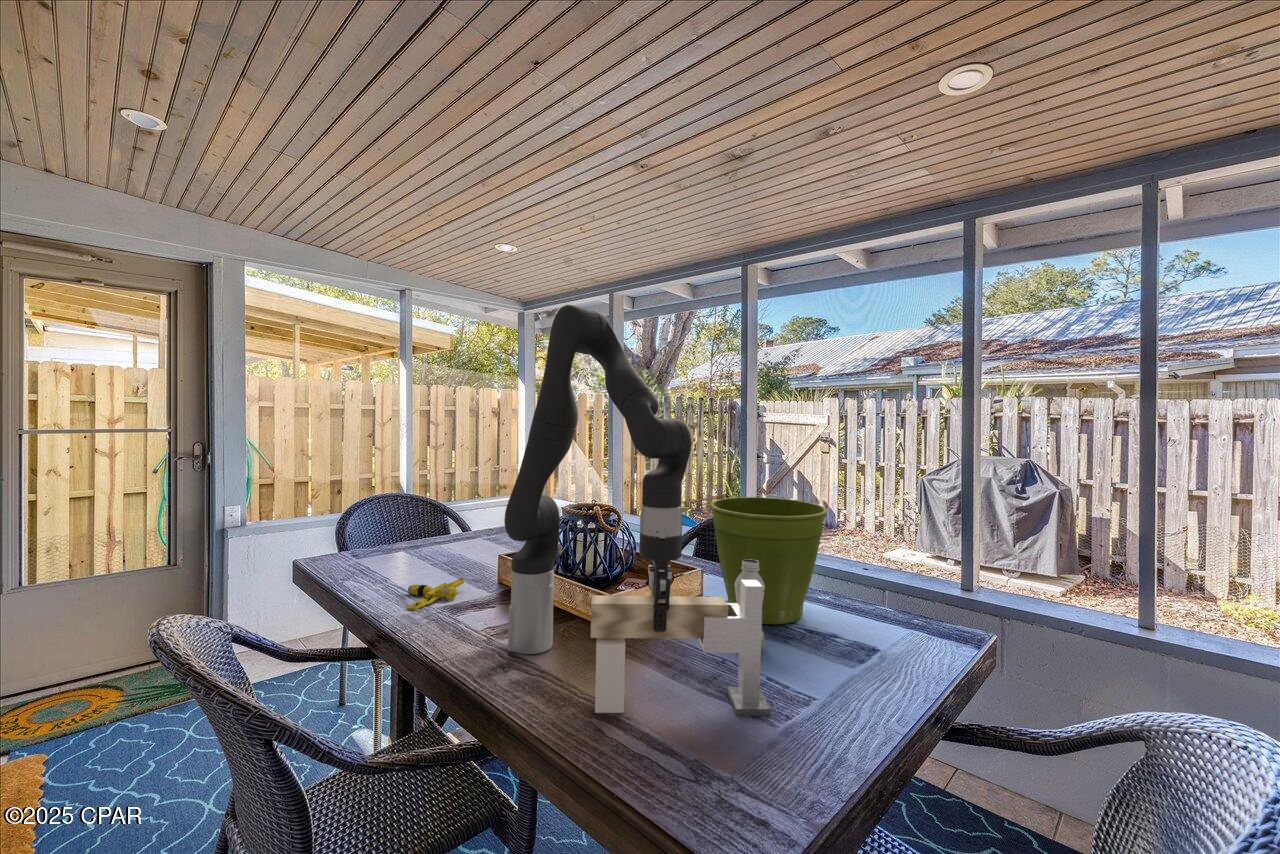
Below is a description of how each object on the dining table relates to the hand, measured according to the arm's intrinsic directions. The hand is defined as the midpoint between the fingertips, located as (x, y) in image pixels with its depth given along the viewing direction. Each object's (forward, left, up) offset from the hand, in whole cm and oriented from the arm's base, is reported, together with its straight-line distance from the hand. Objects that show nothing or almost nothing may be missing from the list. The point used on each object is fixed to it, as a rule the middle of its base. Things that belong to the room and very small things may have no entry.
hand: (658, 625), depth 102 cm
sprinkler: (-59, +57, -15) cm, 83 cm away
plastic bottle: (+22, +23, -14) cm, 35 cm away
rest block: (-8, 0, -14) cm, 17 cm away
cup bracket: (+14, 0, -14) cm, 20 cm away
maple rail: (0, 0, -1) cm, 1 cm away
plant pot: (+32, +47, -14) cm, 59 cm away
